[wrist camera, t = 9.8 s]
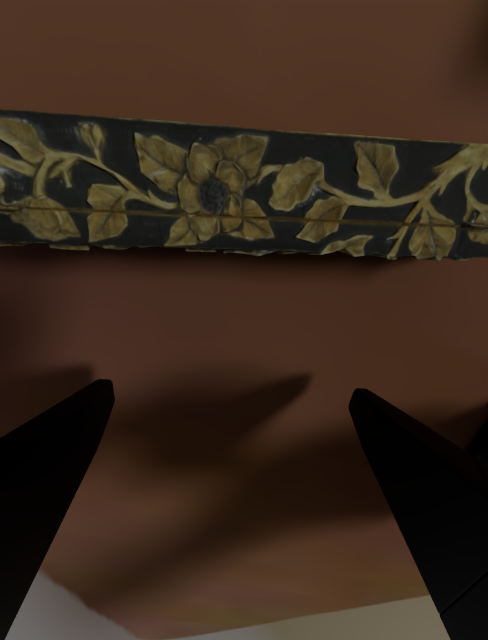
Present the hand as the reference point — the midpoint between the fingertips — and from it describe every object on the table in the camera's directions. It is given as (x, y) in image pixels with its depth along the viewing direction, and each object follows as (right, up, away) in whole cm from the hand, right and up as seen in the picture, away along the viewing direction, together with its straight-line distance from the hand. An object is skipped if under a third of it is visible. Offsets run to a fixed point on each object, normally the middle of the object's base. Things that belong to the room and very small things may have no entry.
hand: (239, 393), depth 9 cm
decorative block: (0, +7, -1) cm, 7 cm away
